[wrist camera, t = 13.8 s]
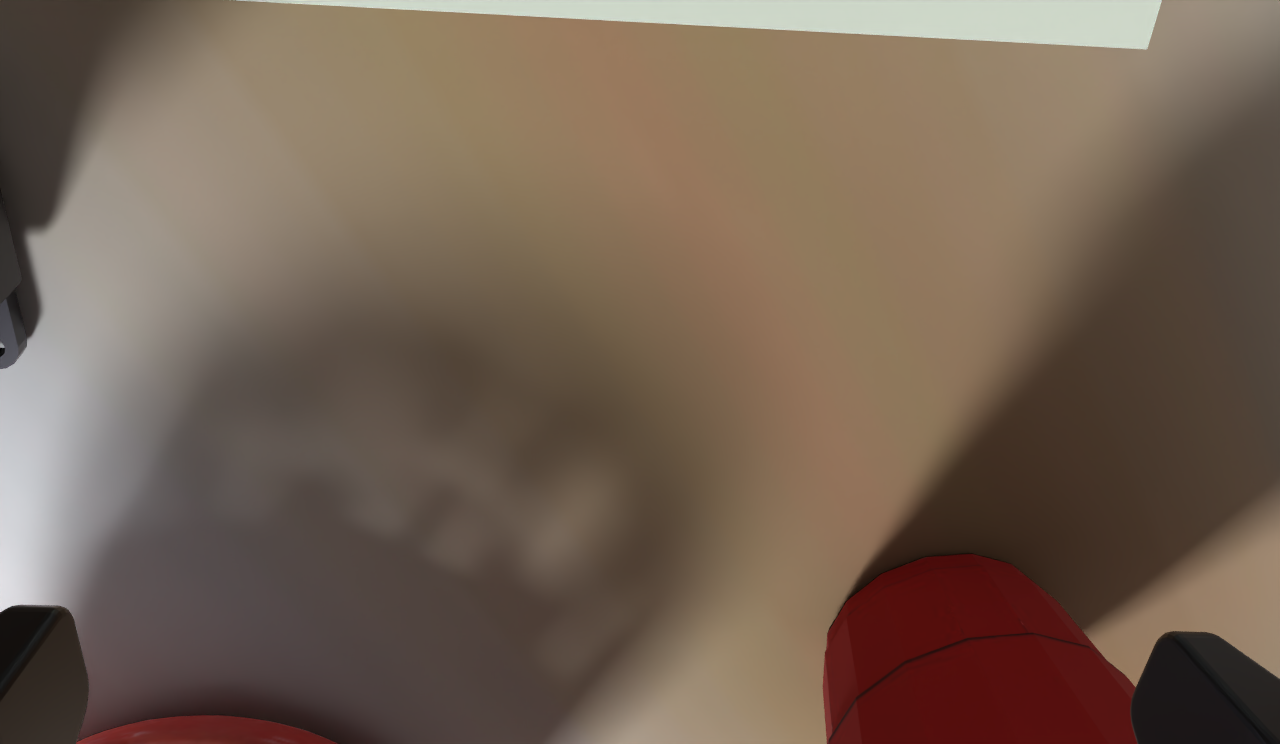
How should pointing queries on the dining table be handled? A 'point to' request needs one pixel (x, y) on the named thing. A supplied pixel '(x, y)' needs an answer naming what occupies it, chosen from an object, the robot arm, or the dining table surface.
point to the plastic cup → (967, 663)
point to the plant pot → (205, 732)
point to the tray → (845, 16)
